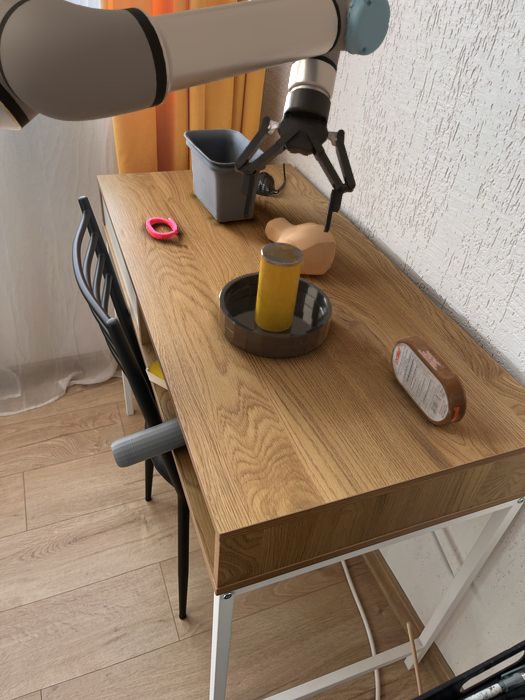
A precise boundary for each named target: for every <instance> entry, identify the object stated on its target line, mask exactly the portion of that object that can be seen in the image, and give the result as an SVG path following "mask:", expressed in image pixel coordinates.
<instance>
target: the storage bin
mask: <svg viewBox="0 0 525 700" xmlns="http://www.w3.org/2000/svg"><path fill="white" fill-rule="evenodd" d="M183 136H184V138H185V139H186V140H185V145H186V146H187V147H188V148H189V149H190V153H191V169H192V184H193V185H192V186H193V187H192V188H193V194H194V196H195V197H196V198H197V199H198V200H199V201H200V203H202V205H203V206H204V207H205V208H206V210H207V211H208V212H209V213H210V215H211V216H213V218H214V219H215V221H217V222H218V223H227V222H228V223H229V222H235V221H241V220H243V221H244V220H250V219H252V218H253V216H254V209H255V205H256V204H255V203H256V199H257V192H258V185H259V179H260V173H261V171H264V170H265V169H266V168H267V165H266V166H265V167H263V168H262V169H261V170H260V171H259V172H257V173H256V174H255V179H256V182H255V187H254V193H253V198H252V204H251V209H250V215H249V219H248V218H244V208H245V203H246V197H245V196H242V193H241V188H242V182H243V177H244V176H243V175H242V174H240V173H237V172H236V170H235V165H234V164H235V162H236V161H237V159H238V158H239V156H240V155H241V154H242V152H243V151H244V150H245V148H246V147H247V146H248V144H249V143H250V142H251V140H250V139H249V138H247V137H246V136H245V135H244V134H242V133H241V132H240V131H238V130H235V129H230V128H212V129H211V128H210V129H209V128H207V129H189V130H187V131H185V132H184V133H183ZM264 152H265V151H263V150H262V149H260V148H259V149H258V150H257V152H256V153H255V154H254V156H253V157H252V159H251V160H250V161H249V163H248V164H247V165H246V166H248V165H249V164H251V163H252V162H253V161H254V160H255V159H257V158H258V157H259V156H260V155H261V154H263V153H264Z"/></svg>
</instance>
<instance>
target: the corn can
mask: <svg viewBox="0 0 525 700" xmlns="http://www.w3.org/2000/svg"><path fill="white" fill-rule="evenodd" d="M260 250H261V251H260V262H259V271H258V272H259V281H258V291H257V301H256V311H255V322H256V324H257V325H258V326H259V327H260V328H262V329H264V330H266V331H270V332H282V331H285V330H287V329H289V328H290V327H291V325H292V322H293V315H294V309H295V303H296V297H297V291H298V284H299V278H300V277H301V274H300V272H301V266H302V260H303V252H302V251H301V250H300V249H299V248H298V247H296V246H294V245H291V244H288V243H281V242H276V243H275V242H270V243H267V244H265V245H264V246H262V248H261V249H260Z"/></svg>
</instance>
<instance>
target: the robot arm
mask: <svg viewBox="0 0 525 700" xmlns="http://www.w3.org/2000/svg"><path fill="white" fill-rule="evenodd" d="M390 6H391V5H390V2H389V0H243V1H242V0H241V1H236V2H230V3H224V4H223V3H222V4H217V5H211V6H205V7H199V8H198V7H197V8H193V9H187V10H179V11H174V12H168V13H161V14H156V15H155V14H154V15H149V14H148V12H146V11H145V10H144V9H143V8H140V7H136V6H133V7H127V8H120V9H119V8H118V9H117V8H116V9H107V8H98V7H97V8H96V7H90V6H86V5H81V4H77V3H74V2H70V1H67V0H0V130H3V129H4V130H11V131H18V132H19V131H20V130H22V129H23V128H24V127H25V126H27V125H28V124H29V123H30V122H31V121H32V120H34V119H35V118H36V117H37V116H38V115H39V114H40V115H42V116H45V117H47V118H51V119H53V120H58V121H63V122H88V121H96V120H101V119H108V118H113V117H117V116H122V115H126V114H131V113H134V112H140V111H143V110H146V109H147V110H148V109H151V108H155V107H159V106H161V105H162V104H164V103H165V101H166V100H167V97H168V96H169V94H170V93H174V92H177V91H182V90H185V89H189V88H194V87H198V86H200V85H201V86H202V85H206V84H209V83H213V82H218V81H222V80H225V79H230V78H233V77H238V76H243V75H246V74H250V73H254V72H258V71H263V70H267V69H270V68H275V67H278V66H283V65H286V64H291V63H292V64H291V68H290V75H289V81H288V86H287V92H288V93H287V94H286V96H285V101H284V102H285V103H284V107H283V114H282V118H281V120H280V121H279V122H278V121H275V120H272V119H271V118H270V116H267V115H266V116H263V118H262V120H261V124H260V127H259V129H258V130H257V132H256V133H255V135H254V136H253V137H252V139H251V140H250V141H251V142H250V143H249V144H248V146H247V147H246V148H245V150H244V151H243V152H242V154H241V155H240V156H239V158H238V159H237V161H236V162H235V164H234V165H235V170H236V172H237V173H240V174H242V175H243V176H244V177H243V182H242V188H241V193H242V196H245V197H246V203H245V208H244V218H248V219H247V220H250V219H249V215H250V209H251V204H252V198H253V193H254V187H255V182H256V179H255V174H256V173H257V172H259V171H260V170H261V169H262V168H263V167H265V166H266V167H267V165H268V164H269V163H271V162H272V161H273V160H274V159H275V158H277V157H278V156H280V155H281V154H283V153H284V152H285V151H288V152H289V154H294V155H296V154H300V155H301V156H305V157H309V156H311V155H313V157H314V159H315V161H317V163H318V164H319V166H320V168H321V169H322V171H323V173H324V175H325V176H326V178H327V180H328V182H329V183H330V185H331V187H332V189H331V191H330V195H329V200H328V206H327V211H326V217H325V221H324V232H327V233H328V231H330V229H331V223H332V218H333V213H336V214H338V213H339V211H340V210H341V206H342V201H343V196H344V194H346V193H347V194H348V193H353V192H354V190H355V189H356V186H357V183H356V179H355V176H354V173H353V169H352V166H351V162H350V159H349V155H348V151H347V148H346V144H345V138H346V131H345V130H344V129H342V128H341V129H338V130H337V131H330V130H329V129H328V123H329V118H330V112H331V107H332V99H333V95H334V89H335V84H336V80H337V72H338V65H339V60H340V55H341V52H347V53H348V54H350V55H352V56H354V55H357V56H369V55H371V54H373V53H374V52H376V51H377V49H379V48H380V46H381V45H383V42H384V41H385V39H386V36H387V34H388V31H389V28H390V25H389V23H390V19H391V7H390ZM276 131H277V133H278V135H279V138H278V139H277V140H276V141H275V142H274V143H273V144H272V145H271V146H270V147H269V148H268V149H266V150H265V151H263V152H264V153H263V154H261V155H260V156H259V157H258V158H257V159H255V160H254V161H253V162H252V163H251V164H249V165H248V166H246V165H247V164H248V163H249V161H250V160H251V159H252V157H253V156H254V154H255V153H256V152H257V150H258V149H260V148H261V147H262V145H263V144H264V142H265V141H266V139H267V138H268V136H271V135H273V133H274V132H276ZM327 140H328V141H330V144H331V146H333V147H335V148H334V149H335V150H334V151H335V155H336V158H337V163H338V165H339V168H340V171H341V176H342V178H343V181H342V179H341V177H340V176H339V174H338V172H337V169H336V168H335V167H334V165H333V163H332V162H331V159H330V158H329V156H328V155H327V152H326V150H325V147H324V145H323V144H324V143H325V142H327ZM261 171H262V170H261ZM261 171H260V172H261Z"/></svg>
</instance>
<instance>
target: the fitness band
mask: <svg viewBox="0 0 525 700" xmlns="http://www.w3.org/2000/svg"><path fill="white" fill-rule="evenodd" d="M159 223H161V224H166V225H167V226H169V227H170V228H171V229H172V230H171V231H169V232H163V233H162V232H159V231H156V230H155V229H154V228H153V227H152V225H154V224H159ZM145 227H146V230H147V231H148V233H149V234H150V236H151V237H153V238H154V239H157V240H168V239H171V238H173V237H174V236H176V234H179V229H178V224H176V222H175V221H174V220H173V218H171V217H169V218H168V219H166V218H163V217H150V218H148V219H147V220H146V222H145Z"/></svg>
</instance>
